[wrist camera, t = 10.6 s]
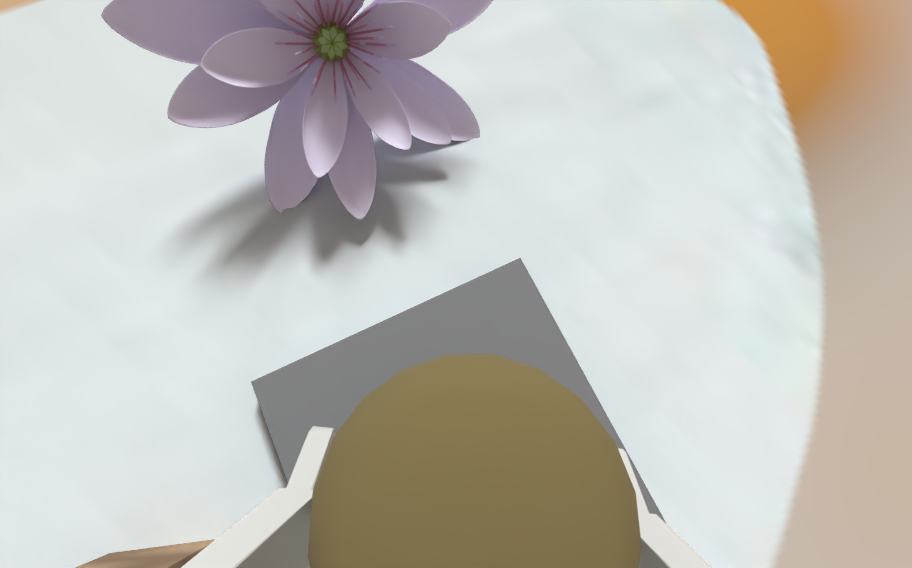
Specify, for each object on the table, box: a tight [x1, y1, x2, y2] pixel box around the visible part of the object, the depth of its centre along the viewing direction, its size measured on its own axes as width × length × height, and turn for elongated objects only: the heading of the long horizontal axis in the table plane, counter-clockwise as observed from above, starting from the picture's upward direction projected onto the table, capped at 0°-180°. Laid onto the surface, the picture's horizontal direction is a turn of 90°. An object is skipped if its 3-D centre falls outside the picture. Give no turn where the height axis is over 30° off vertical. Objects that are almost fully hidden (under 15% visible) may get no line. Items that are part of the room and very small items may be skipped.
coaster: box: [251, 258, 666, 523], centre depth 18 cm, size 12×12×1 cm
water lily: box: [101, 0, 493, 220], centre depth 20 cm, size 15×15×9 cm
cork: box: [308, 354, 642, 568], centre depth 11 cm, size 6×6×11 cm
